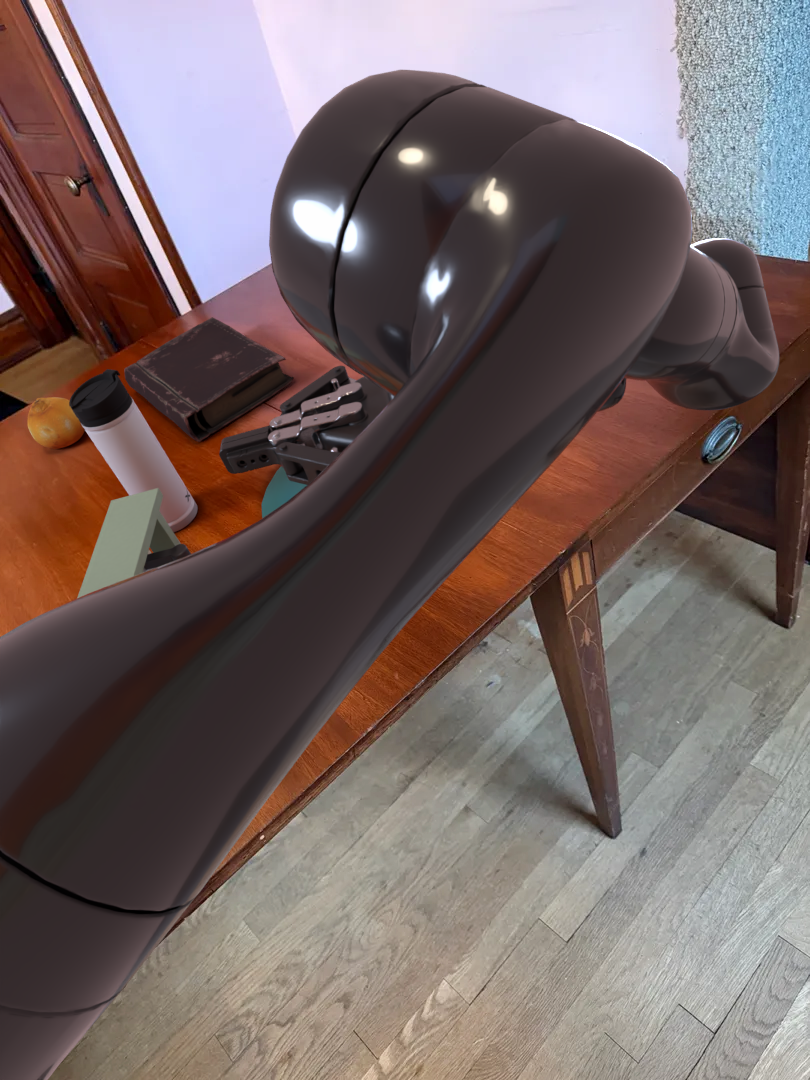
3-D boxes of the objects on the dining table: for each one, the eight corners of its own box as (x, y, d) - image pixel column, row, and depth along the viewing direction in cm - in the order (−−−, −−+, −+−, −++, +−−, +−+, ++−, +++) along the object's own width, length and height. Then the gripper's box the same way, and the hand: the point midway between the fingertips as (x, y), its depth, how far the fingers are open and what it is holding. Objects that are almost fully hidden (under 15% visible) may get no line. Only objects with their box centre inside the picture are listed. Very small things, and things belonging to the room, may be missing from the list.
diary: (195, 446, 106) (179, 418, 103) (134, 395, 123) (118, 369, 120) (300, 380, 112) (288, 351, 109) (228, 340, 129) (216, 314, 126)
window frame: (240, 604, 80) (166, 485, 69) (216, 796, 64) (113, 682, 52) (185, 617, 81) (103, 502, 70) (147, 811, 64) (31, 701, 53)
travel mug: (209, 504, 95) (130, 370, 82) (175, 539, 92) (86, 405, 78) (177, 495, 98) (96, 366, 85) (142, 529, 95) (53, 399, 82)
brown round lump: (27, 455, 113) (26, 405, 109) (28, 435, 119) (27, 387, 116) (86, 457, 116) (87, 408, 113) (84, 438, 123) (84, 391, 119)
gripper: (440, 299, 53) (212, 365, 55) (465, 399, 43) (186, 473, 45) (462, 388, 58) (252, 445, 60) (488, 495, 48) (237, 558, 50)
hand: (224, 457), depth 53 cm, fingers closed
